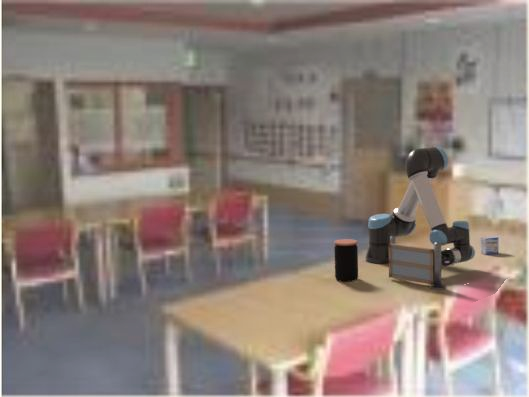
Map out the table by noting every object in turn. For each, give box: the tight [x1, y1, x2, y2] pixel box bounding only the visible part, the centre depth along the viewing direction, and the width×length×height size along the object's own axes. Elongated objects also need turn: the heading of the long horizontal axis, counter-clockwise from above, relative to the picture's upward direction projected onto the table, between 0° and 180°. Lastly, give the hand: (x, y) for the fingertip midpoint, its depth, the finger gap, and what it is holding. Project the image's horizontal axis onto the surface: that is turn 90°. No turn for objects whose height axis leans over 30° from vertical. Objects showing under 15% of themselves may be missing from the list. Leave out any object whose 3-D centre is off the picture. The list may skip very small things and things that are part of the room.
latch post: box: [390, 236, 396, 244], centre depth 325 cm, size 2×2×19 cm
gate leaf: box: [388, 243, 434, 286], centre depth 313 cm, size 23×2×16 cm, turn 45°
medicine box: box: [480, 236, 500, 256], centre depth 366 cm, size 8×4×9 cm, turn 105°
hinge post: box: [430, 242, 446, 291], centre depth 304 cm, size 6×6×20 cm
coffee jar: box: [333, 238, 359, 283], centre depth 325 cm, size 11×11×18 cm
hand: (414, 265), depth 314 cm, fingers closed
